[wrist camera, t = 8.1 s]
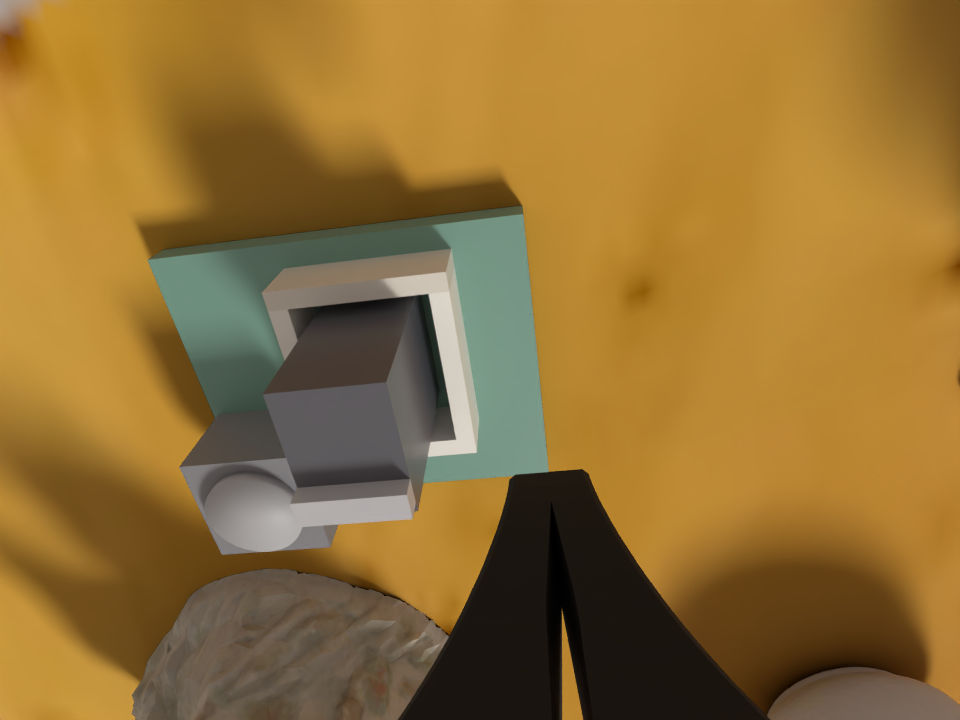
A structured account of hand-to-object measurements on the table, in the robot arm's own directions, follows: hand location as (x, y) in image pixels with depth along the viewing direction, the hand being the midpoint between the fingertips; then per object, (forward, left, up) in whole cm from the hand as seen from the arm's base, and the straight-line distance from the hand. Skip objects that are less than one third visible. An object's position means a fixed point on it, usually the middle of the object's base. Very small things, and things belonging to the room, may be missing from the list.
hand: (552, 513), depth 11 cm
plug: (+5, +1, -9) cm, 11 cm away
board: (+6, +2, -10) cm, 12 cm away
